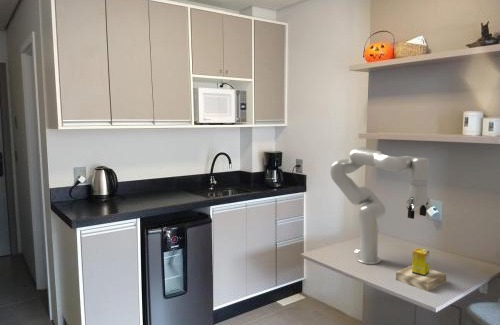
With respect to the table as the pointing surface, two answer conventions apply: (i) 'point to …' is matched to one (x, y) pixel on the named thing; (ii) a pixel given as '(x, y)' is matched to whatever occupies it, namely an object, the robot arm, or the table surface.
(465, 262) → the table surface
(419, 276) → the birch riser
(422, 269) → the supplement box
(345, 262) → the table surface
